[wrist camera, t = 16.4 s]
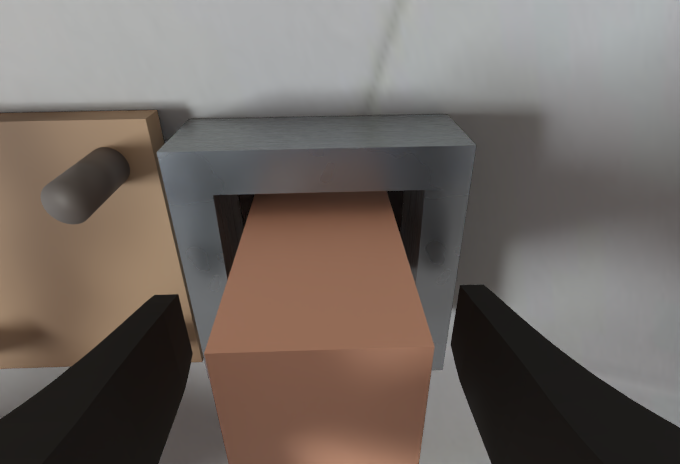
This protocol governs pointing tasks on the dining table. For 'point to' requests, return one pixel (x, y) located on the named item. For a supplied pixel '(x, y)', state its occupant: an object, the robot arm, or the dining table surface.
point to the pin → (321, 336)
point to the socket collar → (319, 176)
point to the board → (82, 232)
